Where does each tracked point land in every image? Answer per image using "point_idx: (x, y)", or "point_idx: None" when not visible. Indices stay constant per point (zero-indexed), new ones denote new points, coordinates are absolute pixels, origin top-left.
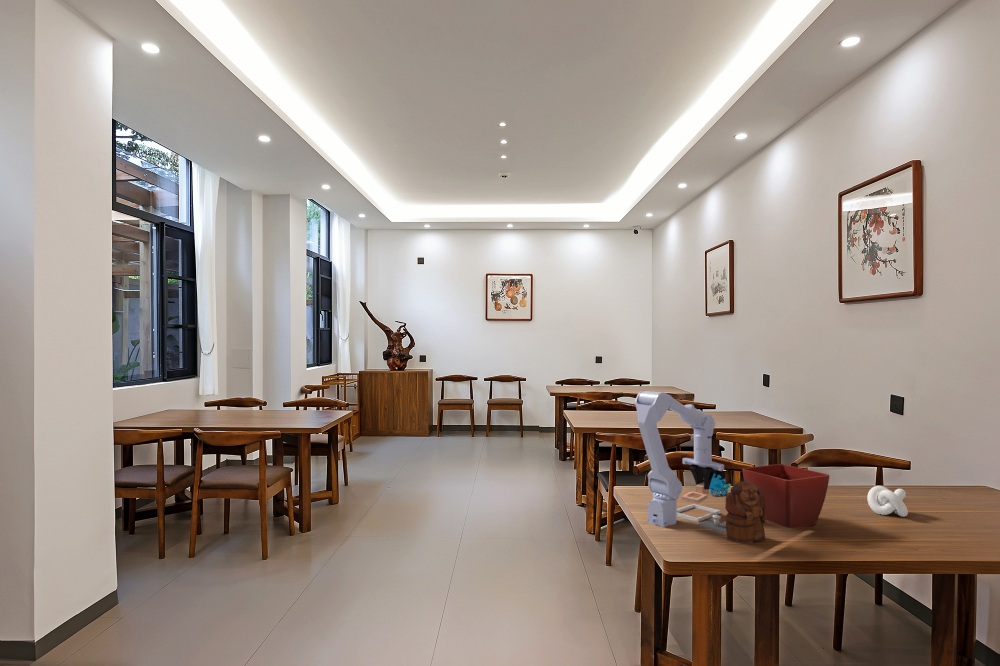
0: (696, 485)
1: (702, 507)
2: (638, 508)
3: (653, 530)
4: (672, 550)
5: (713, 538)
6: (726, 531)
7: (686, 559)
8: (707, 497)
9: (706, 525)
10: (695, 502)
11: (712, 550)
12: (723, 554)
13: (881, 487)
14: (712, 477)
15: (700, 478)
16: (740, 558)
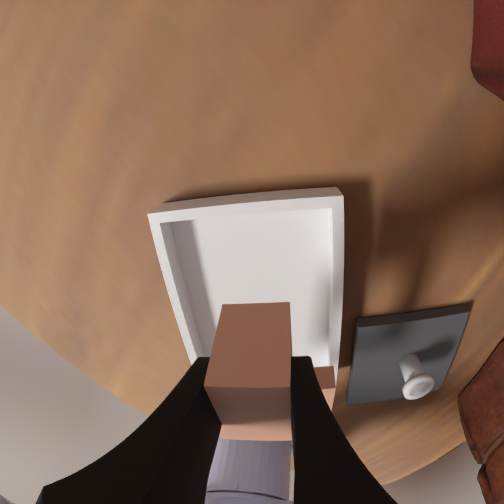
0: (232, 435)
1: (220, 214)
2: (82, 358)
3: None
4: None
5: (420, 407)
6: (462, 426)
7: (402, 474)
8: (333, 370)
9: (378, 384)
10: None
11: (432, 440)
12: (453, 435)
13: None
14: (356, 454)
15: (191, 435)
16: None
